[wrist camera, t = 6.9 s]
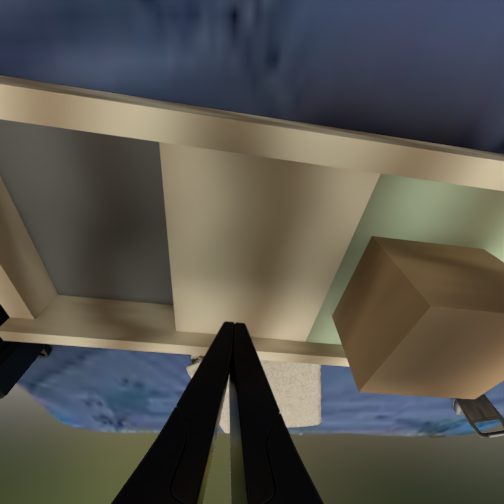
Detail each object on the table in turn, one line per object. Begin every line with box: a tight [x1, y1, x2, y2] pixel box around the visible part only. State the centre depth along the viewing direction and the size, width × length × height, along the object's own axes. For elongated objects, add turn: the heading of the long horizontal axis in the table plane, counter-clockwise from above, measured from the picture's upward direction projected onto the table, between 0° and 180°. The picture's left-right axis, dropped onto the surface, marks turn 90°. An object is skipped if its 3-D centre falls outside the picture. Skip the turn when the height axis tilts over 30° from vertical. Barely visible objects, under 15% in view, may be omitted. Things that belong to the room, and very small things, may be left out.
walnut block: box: [332, 236, 504, 399], centre depth 11 cm, size 6×6×4 cm
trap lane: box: [0, 75, 504, 367], centre depth 13 cm, size 40×14×4 cm, turn 82°
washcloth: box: [186, 355, 322, 433], centre depth 23 cm, size 12×18×3 cm, turn 11°
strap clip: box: [453, 394, 504, 438], centre depth 25 cm, size 8×3×4 cm, turn 28°
